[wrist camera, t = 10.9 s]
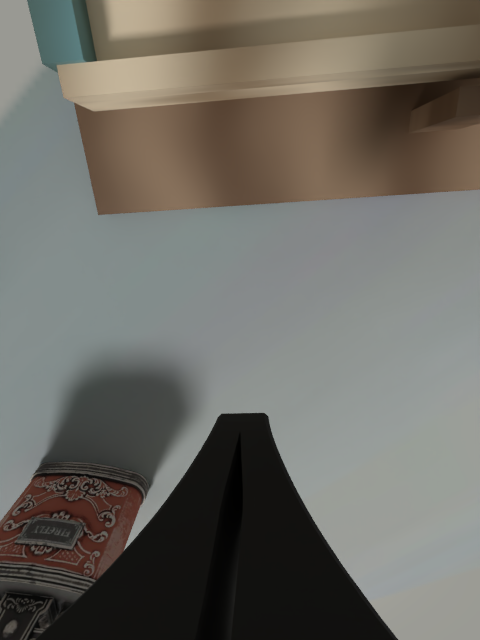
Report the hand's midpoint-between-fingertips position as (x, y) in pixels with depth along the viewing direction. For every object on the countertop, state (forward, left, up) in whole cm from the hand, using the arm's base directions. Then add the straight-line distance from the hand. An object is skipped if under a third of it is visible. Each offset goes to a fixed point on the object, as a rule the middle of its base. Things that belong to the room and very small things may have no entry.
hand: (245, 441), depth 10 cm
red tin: (+12, +12, -10) cm, 19 cm away
